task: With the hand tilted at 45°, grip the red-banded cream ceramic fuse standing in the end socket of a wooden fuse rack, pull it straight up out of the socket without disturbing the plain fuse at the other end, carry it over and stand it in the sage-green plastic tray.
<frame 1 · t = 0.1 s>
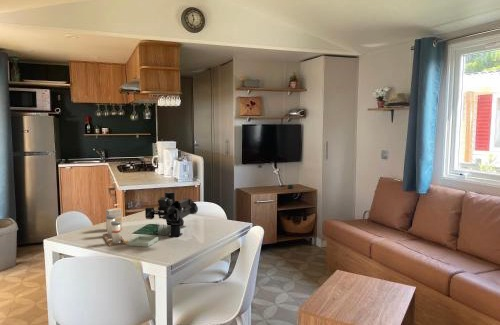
hand: (154, 217, 199), 17 cm above the table, tool horizontal, fingers open, 9 cm apart
tray: (143, 242, 210), on the table
wooden fuse rack: (113, 239, 216), on the table
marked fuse: (116, 243, 209), resting in wooden fuse rack
supplement box: (114, 230, 237), on the table
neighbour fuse: (111, 236, 223), resting in wooden fuse rack
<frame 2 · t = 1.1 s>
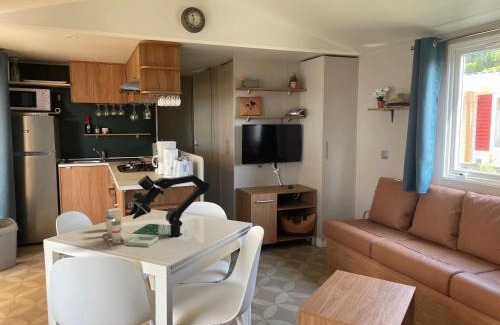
hand: (131, 216, 212), 14 cm above the table, tool tilted 45°, fingers open, 9 cm apart
nothing on the table moved.
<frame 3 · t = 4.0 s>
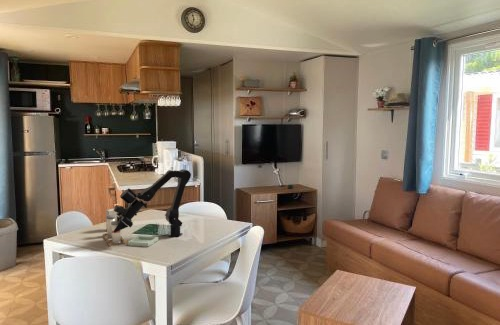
hand: (113, 230, 208), 7 cm above the table, tool tilted 45°, fingers closed on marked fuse, 4 cm apart
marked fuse: (116, 243, 209), resting in wooden fuse rack, touching gripper
everything else where it was.
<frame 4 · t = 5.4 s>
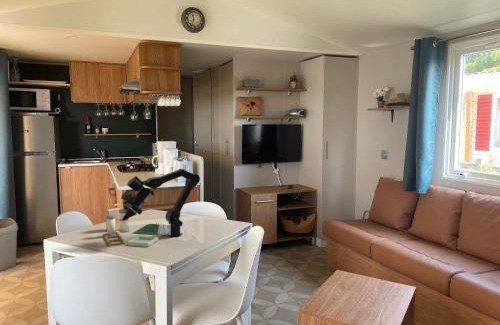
hand: (121, 219, 207), 14 cm above the table, tool tilted 45°, fingers closed on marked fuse, 4 cm apart
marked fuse: (124, 231, 209), point 7 cm above the table, touching gripper
everything else where it was.
when the fingers open (9 cm above the table, at t = 7.2 s): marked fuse drops 1 cm, resting on tray.
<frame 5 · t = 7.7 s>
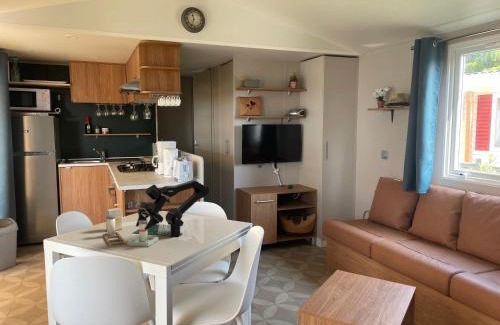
hand: (140, 227, 209), 9 cm above the table, tool tilted 45°, fingers open, 9 cm apart
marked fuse: (143, 242, 210), point 1 cm above the table, touching tray
everything else where it was.
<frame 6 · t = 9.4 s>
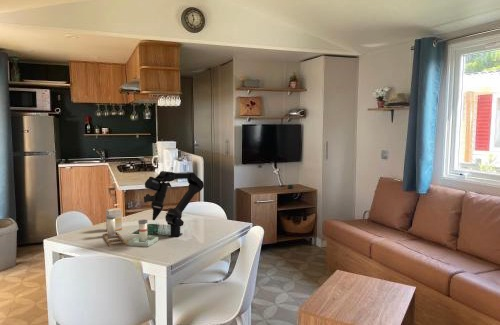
hand: (153, 220, 212), 12 cm above the table, tool tilted 20°, fingers open, 9 cm apart
nothing on the table moved.
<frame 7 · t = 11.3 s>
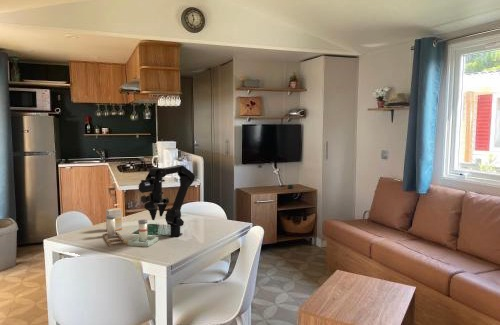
hand: (157, 218, 213), 13 cm above the table, tool pointing down, fingers open, 9 cm apart
nothing on the table moved.
at the end: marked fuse inside the target area on the tray (0.0 cm from its centre), point 0.5 cm above the tray's base; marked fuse tilted 1°; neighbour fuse moved 0.0 cm from its start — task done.
